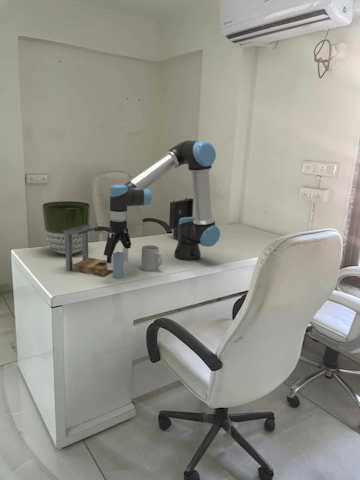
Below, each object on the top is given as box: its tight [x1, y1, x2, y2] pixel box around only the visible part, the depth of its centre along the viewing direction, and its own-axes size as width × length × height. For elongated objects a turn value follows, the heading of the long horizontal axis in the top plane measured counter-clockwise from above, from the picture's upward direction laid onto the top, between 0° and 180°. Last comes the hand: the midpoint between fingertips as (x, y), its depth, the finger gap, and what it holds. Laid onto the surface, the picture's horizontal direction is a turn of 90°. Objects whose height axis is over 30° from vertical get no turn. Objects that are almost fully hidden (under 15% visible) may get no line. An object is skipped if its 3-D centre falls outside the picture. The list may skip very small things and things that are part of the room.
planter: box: [41, 200, 91, 255], centre depth 200 cm, size 24×24×27 cm
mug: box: [140, 244, 163, 272], centre depth 182 cm, size 12×8×11 cm
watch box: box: [168, 197, 194, 239], centre depth 252 cm, size 26×28×24 cm
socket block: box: [73, 257, 113, 278], centre depth 177 cm, size 16×12×4 cm
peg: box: [112, 251, 125, 280], centre depth 168 cm, size 4×4×12 cm
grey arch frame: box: [63, 224, 99, 272], centre depth 177 cm, size 8×16×20 cm, turn 159°
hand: (118, 265), depth 168 cm, fingers open, 13 cm apart
